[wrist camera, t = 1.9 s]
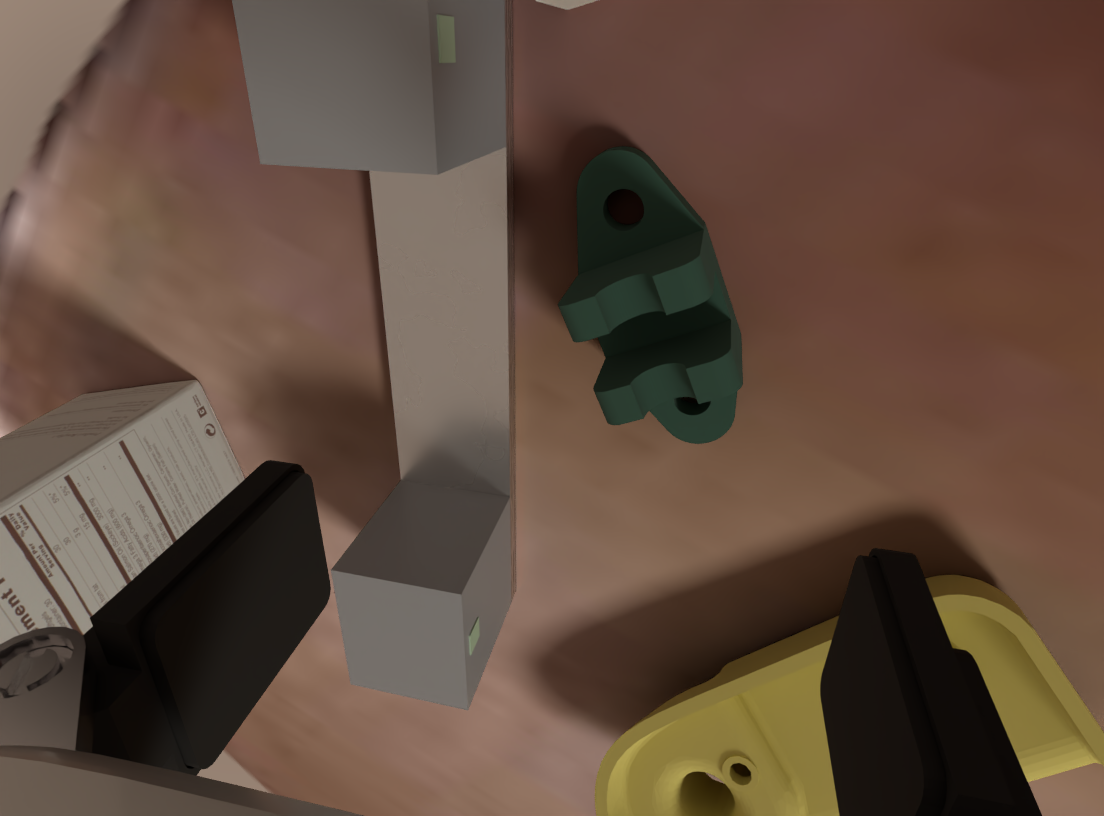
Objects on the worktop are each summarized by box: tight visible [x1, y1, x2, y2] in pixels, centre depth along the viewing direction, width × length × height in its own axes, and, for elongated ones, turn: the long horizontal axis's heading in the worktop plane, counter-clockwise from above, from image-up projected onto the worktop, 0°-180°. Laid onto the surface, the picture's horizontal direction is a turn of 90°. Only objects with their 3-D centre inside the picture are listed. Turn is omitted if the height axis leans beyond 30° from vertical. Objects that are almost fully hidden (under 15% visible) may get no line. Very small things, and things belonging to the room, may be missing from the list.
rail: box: [369, 0, 516, 602], centre depth 26 cm, size 5×26×1 cm, turn 179°
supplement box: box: [0, 380, 245, 644], centre depth 28 cm, size 7×7×13 cm
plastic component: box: [595, 575, 1104, 816], centre depth 30 cm, size 20×7×10 cm
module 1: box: [232, 0, 506, 175], centre depth 19 cm, size 5×6×6 cm
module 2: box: [331, 480, 511, 710], centre depth 28 cm, size 5×6×6 cm
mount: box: [558, 146, 743, 444], centre depth 22 cm, size 11×4×5 cm, turn 23°
